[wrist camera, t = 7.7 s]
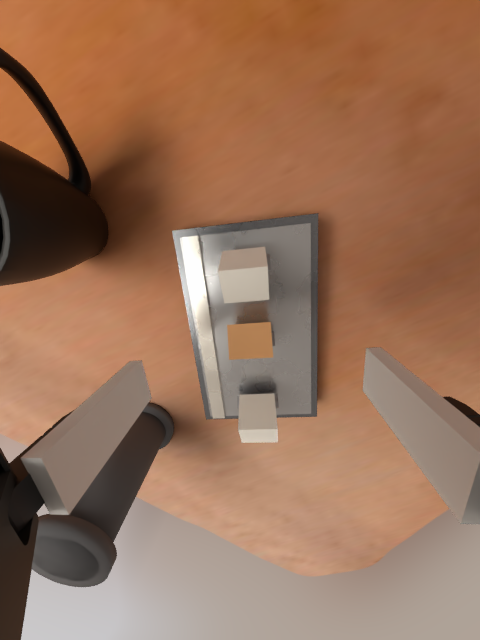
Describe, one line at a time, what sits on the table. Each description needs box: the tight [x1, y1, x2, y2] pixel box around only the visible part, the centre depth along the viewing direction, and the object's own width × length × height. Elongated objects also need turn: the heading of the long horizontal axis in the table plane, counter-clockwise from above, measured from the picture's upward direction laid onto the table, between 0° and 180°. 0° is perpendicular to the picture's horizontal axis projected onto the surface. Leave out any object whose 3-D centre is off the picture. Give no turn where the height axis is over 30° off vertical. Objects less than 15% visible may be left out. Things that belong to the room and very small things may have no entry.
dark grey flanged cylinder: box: [32, 403, 174, 587], centre depth 21 cm, size 6×6×12 cm
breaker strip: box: [172, 214, 318, 419], centre depth 20 cm, size 18×11×3 cm, turn 6°
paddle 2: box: [237, 393, 279, 443], centre depth 19 cm, size 2×4×4 cm, turn 95°
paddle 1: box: [218, 247, 271, 303], centre depth 15 cm, size 2×4×4 cm, turn 95°
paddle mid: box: [227, 322, 275, 360], centre depth 17 cm, size 2×4×4 cm, turn 97°
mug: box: [0, 48, 108, 286], centre depth 15 cm, size 8×12×10 cm
